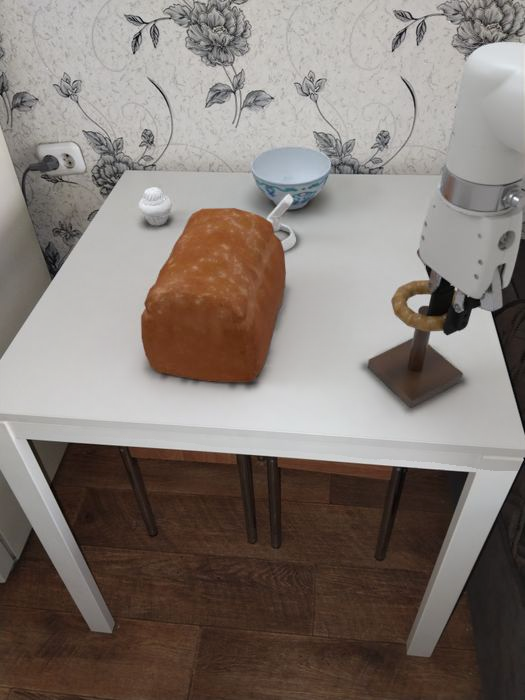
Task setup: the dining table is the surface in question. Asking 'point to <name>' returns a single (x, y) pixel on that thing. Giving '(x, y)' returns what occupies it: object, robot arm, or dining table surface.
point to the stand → (415, 368)
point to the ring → (409, 315)
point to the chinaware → (291, 173)
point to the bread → (216, 298)
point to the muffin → (155, 206)
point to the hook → (277, 226)
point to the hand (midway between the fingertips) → (446, 322)
